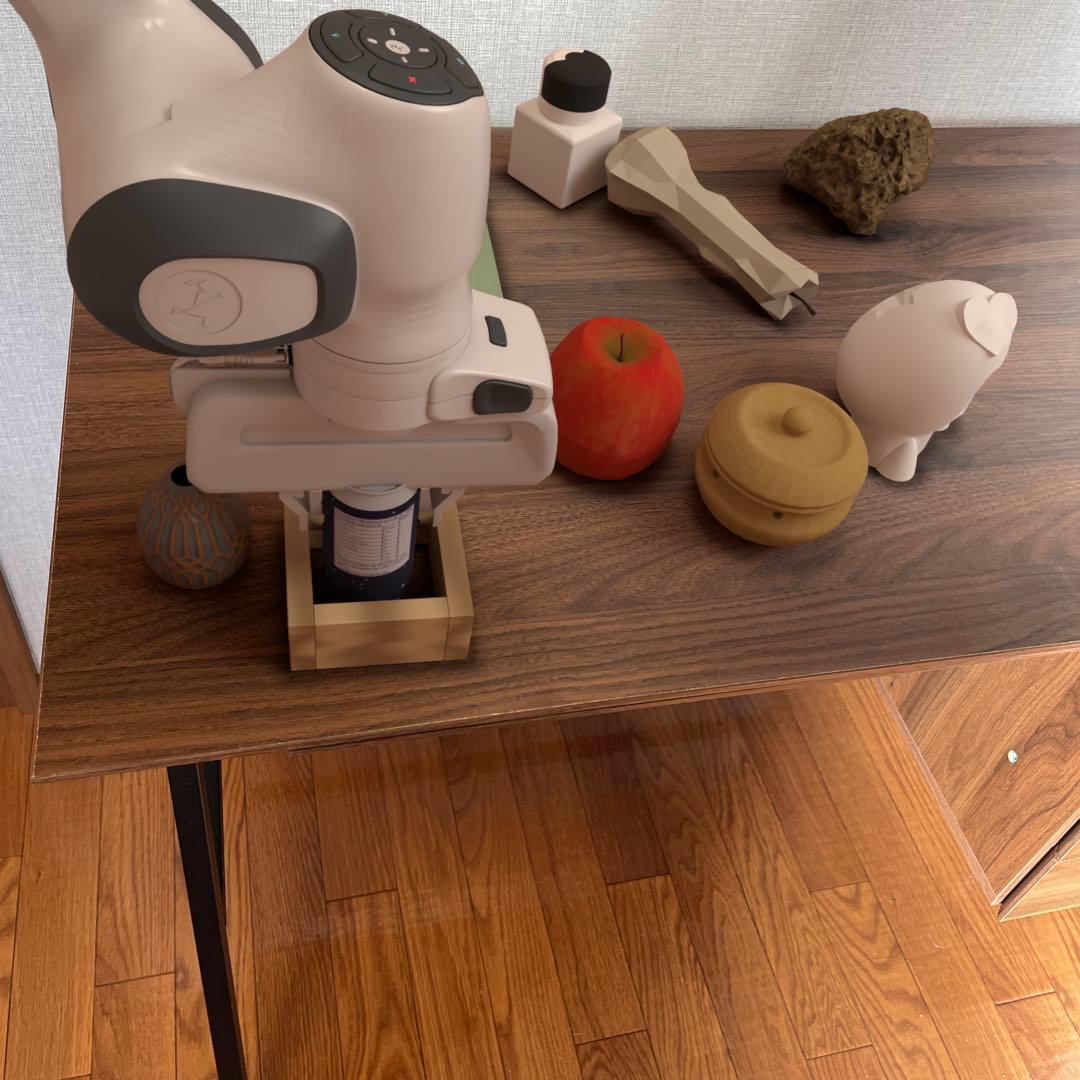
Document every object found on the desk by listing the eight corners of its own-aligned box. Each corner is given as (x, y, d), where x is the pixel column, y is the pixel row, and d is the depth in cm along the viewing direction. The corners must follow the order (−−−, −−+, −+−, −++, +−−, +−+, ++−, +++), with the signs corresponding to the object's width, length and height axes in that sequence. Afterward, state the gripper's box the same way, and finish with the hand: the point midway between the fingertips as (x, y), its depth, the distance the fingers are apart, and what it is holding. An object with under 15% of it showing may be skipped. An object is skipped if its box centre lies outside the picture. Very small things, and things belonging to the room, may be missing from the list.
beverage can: (427, 580, 73) (443, 456, 64) (374, 637, 69) (382, 515, 60) (359, 537, 74) (364, 410, 65) (303, 591, 71) (300, 464, 61)
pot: (675, 549, 79) (711, 454, 71) (688, 435, 86) (723, 337, 78) (835, 585, 79) (889, 494, 71) (835, 467, 86) (884, 373, 79)
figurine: (790, 428, 88) (857, 278, 77) (847, 358, 95) (918, 209, 83) (916, 499, 85) (1006, 354, 74) (966, 421, 92) (1057, 276, 80)
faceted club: (648, 162, 108) (840, 316, 99) (582, 208, 105) (773, 369, 96) (653, 89, 100) (862, 249, 91) (582, 136, 97) (790, 305, 88)
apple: (673, 409, 88) (708, 304, 80) (660, 510, 81) (696, 406, 73) (541, 379, 88) (562, 271, 80) (516, 477, 81) (536, 370, 73)
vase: (255, 603, 71) (246, 516, 64) (142, 609, 70) (121, 521, 63) (254, 520, 75) (246, 430, 68) (147, 524, 74) (128, 433, 67)
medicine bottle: (610, 185, 106) (635, 66, 97) (560, 211, 102) (582, 90, 93) (555, 149, 108) (575, 30, 99) (505, 174, 105) (521, 52, 95)
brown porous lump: (778, 179, 112) (913, 93, 109) (843, 283, 109) (985, 198, 106) (763, 127, 102) (912, 30, 98) (836, 241, 98) (993, 144, 95)
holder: (290, 671, 68) (288, 626, 64) (285, 532, 75) (282, 484, 71) (466, 659, 71) (474, 615, 67) (446, 525, 77) (452, 478, 73)
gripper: (162, 392, 52) (189, 569, 62) (583, 390, 56) (541, 555, 67) (167, 304, 56) (191, 485, 66) (561, 308, 60) (525, 477, 71)
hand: (370, 520), depth 67 cm, fingers closed on beverage can, 5 cm apart
